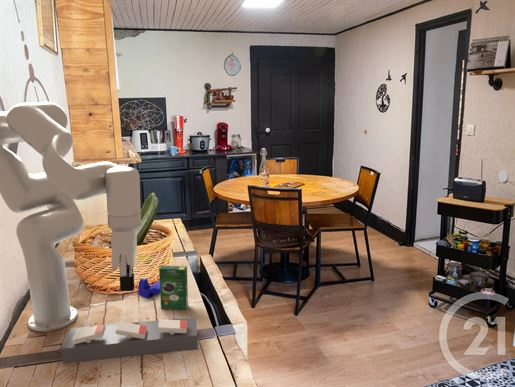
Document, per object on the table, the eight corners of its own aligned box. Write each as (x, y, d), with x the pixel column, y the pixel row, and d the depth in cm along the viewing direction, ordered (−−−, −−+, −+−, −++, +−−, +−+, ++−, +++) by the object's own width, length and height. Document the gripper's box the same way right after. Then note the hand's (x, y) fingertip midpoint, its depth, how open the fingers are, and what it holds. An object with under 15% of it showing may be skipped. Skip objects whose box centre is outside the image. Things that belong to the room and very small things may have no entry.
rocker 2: (117, 327, 108) (119, 320, 108) (145, 332, 110) (147, 325, 109) (114, 336, 104) (116, 329, 104) (143, 341, 106) (145, 334, 106)
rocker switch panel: (72, 342, 112) (70, 327, 111) (196, 330, 117) (196, 315, 116) (63, 363, 103) (60, 347, 102) (197, 349, 108) (197, 334, 107)
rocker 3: (158, 325, 110) (159, 318, 110) (185, 326, 111) (186, 320, 111) (157, 333, 106) (158, 326, 106) (185, 335, 107) (186, 328, 107)
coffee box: (189, 305, 130) (187, 265, 127) (187, 310, 127) (185, 269, 124) (163, 304, 130) (160, 264, 127) (160, 309, 128) (157, 268, 124)
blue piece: (147, 299, 134) (146, 281, 133) (138, 295, 137) (137, 278, 135) (176, 285, 143) (175, 268, 142) (167, 282, 146) (166, 265, 145)
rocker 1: (77, 337, 107) (75, 330, 107) (106, 330, 108) (104, 323, 107) (74, 346, 103) (71, 339, 103) (103, 339, 104) (101, 332, 104)
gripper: (112, 210, 109) (116, 276, 113) (102, 230, 94) (106, 305, 99) (143, 209, 110) (145, 275, 115) (137, 230, 96) (140, 304, 100)
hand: (127, 289), depth 107 cm, fingers closed
